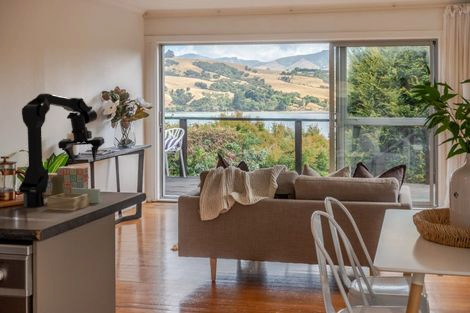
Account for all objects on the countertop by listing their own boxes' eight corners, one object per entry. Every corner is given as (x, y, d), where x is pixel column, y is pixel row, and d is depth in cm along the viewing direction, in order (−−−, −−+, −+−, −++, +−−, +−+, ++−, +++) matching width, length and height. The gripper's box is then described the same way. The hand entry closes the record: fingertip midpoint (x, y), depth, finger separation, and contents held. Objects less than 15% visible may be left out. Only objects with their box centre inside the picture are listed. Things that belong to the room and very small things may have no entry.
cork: (53, 204, 227) (52, 177, 226) (48, 202, 232) (47, 175, 231) (68, 202, 231) (67, 176, 230) (63, 200, 235) (62, 174, 234)
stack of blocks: (37, 194, 252) (36, 167, 251) (43, 192, 258) (42, 166, 257) (83, 195, 250) (83, 167, 249) (88, 193, 256) (88, 166, 255)
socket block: (73, 210, 208) (73, 198, 208) (47, 209, 211) (47, 197, 211) (89, 205, 219) (88, 194, 218) (64, 204, 222) (63, 192, 221)
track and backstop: (74, 213, 208) (74, 196, 207) (45, 211, 211) (45, 194, 211) (100, 204, 226) (100, 188, 226) (73, 203, 230) (73, 187, 229)
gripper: (105, 121, 249) (110, 155, 253) (64, 123, 250) (70, 157, 255) (97, 127, 238) (103, 162, 242) (55, 129, 240) (61, 164, 244)
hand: (84, 161), depth 246 cm, fingers open, 9 cm apart
